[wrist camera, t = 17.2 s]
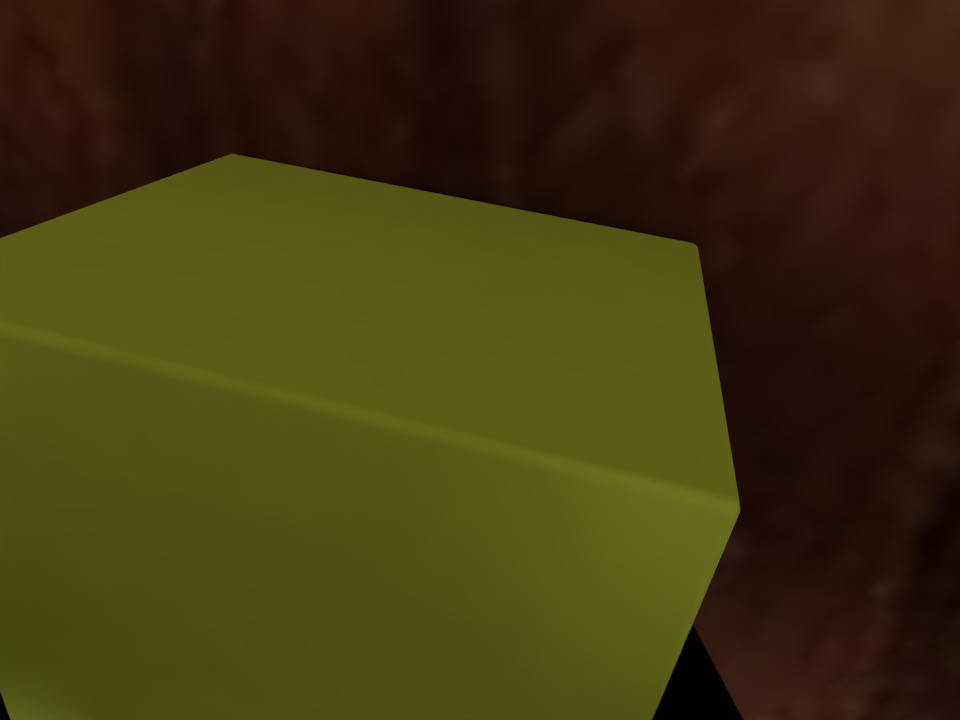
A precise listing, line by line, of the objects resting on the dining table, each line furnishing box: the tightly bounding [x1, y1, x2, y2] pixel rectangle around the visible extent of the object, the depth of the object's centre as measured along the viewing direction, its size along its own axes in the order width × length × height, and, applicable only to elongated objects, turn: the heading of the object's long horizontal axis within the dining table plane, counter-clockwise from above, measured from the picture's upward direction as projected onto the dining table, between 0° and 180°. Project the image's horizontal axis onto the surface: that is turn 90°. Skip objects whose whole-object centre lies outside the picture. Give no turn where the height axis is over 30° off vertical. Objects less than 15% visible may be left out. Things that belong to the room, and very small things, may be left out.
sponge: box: [0, 154, 741, 720], centre depth 7 cm, size 5×7×4 cm
